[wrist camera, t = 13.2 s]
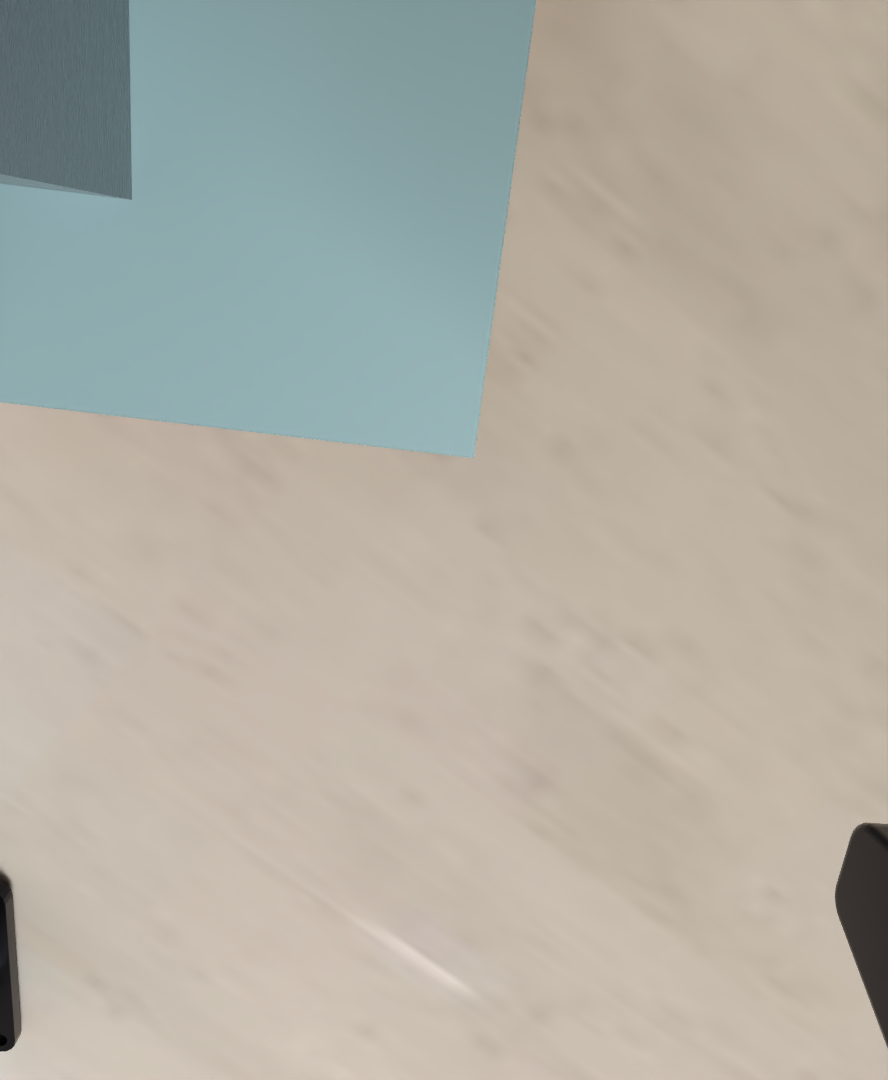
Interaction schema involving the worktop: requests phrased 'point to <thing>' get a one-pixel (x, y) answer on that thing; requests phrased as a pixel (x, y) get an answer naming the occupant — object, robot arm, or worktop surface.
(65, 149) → the block
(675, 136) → the worktop surface
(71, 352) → the lid
